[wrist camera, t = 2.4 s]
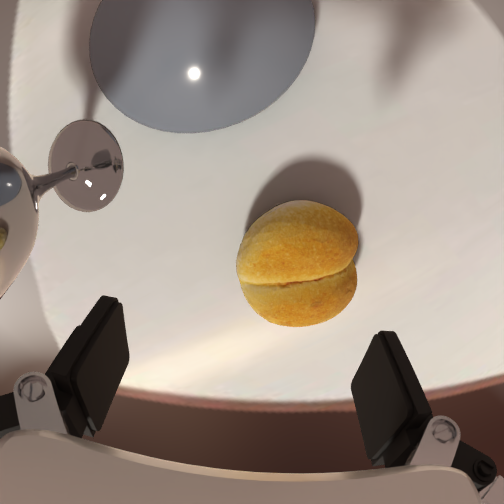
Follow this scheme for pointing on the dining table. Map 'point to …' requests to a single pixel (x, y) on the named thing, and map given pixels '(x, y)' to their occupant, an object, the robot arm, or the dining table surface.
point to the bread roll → (298, 263)
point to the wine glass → (55, 188)
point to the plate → (198, 58)
